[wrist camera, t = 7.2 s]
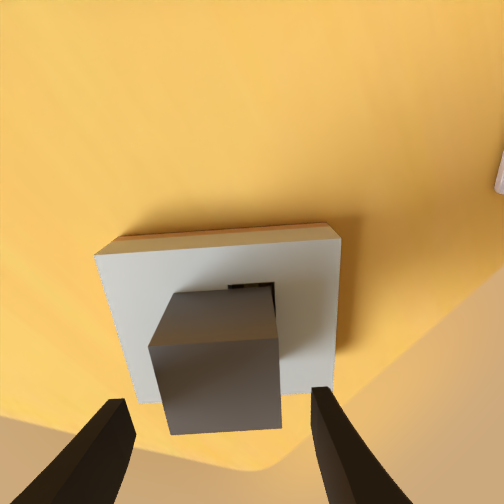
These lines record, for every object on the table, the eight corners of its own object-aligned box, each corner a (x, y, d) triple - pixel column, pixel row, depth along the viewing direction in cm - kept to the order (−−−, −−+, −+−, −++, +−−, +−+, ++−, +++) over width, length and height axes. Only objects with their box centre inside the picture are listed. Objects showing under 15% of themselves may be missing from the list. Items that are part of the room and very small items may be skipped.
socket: (326, 222, 16) (341, 238, 13) (321, 358, 20) (332, 391, 17) (118, 236, 16) (93, 255, 13) (153, 369, 20) (138, 404, 17)
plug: (268, 272, 16) (278, 338, 11) (271, 343, 18) (281, 428, 12) (180, 278, 16) (147, 346, 11) (193, 348, 18) (170, 435, 12)
